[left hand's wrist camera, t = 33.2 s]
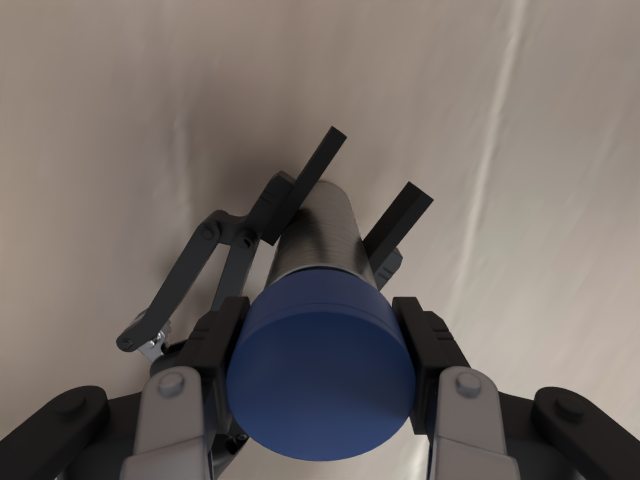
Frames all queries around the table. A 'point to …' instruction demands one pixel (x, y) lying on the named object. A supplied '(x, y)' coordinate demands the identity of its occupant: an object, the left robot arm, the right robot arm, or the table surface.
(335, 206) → the metal thermos flask
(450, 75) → the table surface
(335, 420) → the lid
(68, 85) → the table surface
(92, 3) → the table surface
